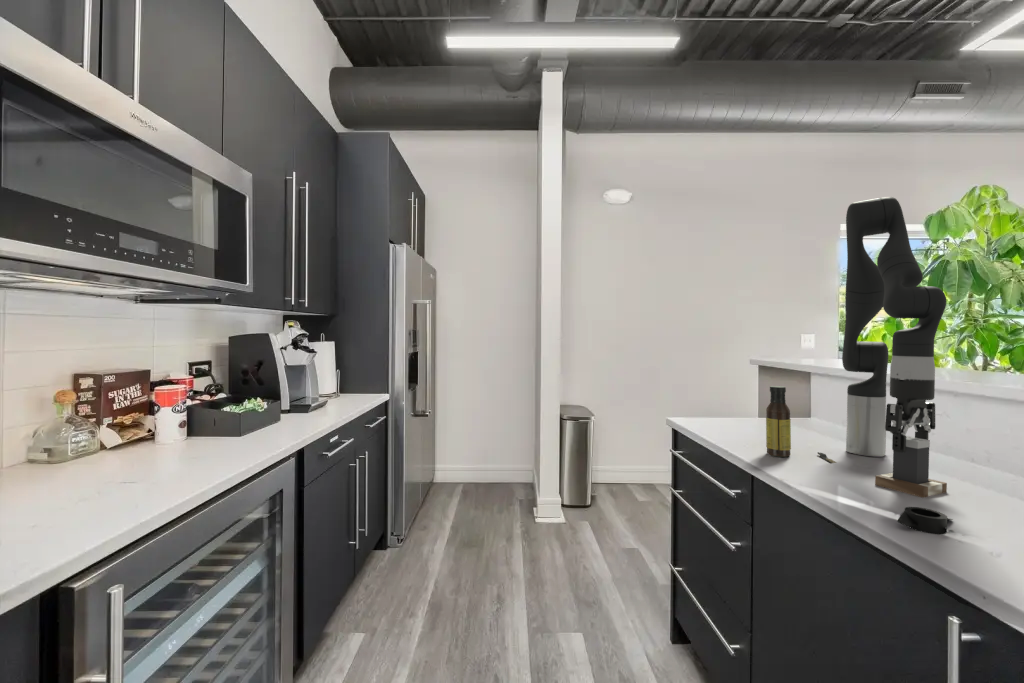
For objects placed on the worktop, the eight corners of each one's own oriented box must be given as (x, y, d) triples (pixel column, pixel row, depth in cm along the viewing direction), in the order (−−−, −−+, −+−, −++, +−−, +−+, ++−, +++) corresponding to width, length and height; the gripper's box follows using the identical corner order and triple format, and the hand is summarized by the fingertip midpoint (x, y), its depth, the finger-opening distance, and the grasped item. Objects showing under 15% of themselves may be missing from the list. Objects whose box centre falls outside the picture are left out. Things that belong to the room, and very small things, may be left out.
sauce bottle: (790, 454, 137) (792, 386, 137) (790, 458, 132) (792, 388, 132) (765, 451, 140) (767, 384, 140) (764, 455, 135) (766, 386, 135)
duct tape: (882, 517, 90) (883, 501, 90) (948, 525, 87) (948, 509, 87) (900, 532, 83) (900, 516, 83) (972, 541, 79) (973, 524, 79)
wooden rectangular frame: (898, 484, 110) (898, 471, 110) (946, 496, 101) (946, 482, 101) (875, 489, 106) (875, 475, 106) (923, 502, 98) (923, 487, 98)
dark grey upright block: (904, 484, 107) (905, 435, 107) (928, 490, 103) (929, 440, 102) (892, 486, 105) (893, 437, 105) (916, 492, 101) (917, 441, 101)
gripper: (910, 375, 110) (909, 444, 110) (873, 375, 104) (871, 448, 104) (950, 378, 103) (949, 451, 103) (913, 378, 97) (911, 456, 97)
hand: (910, 450), depth 104 cm, fingers open, 8 cm apart
